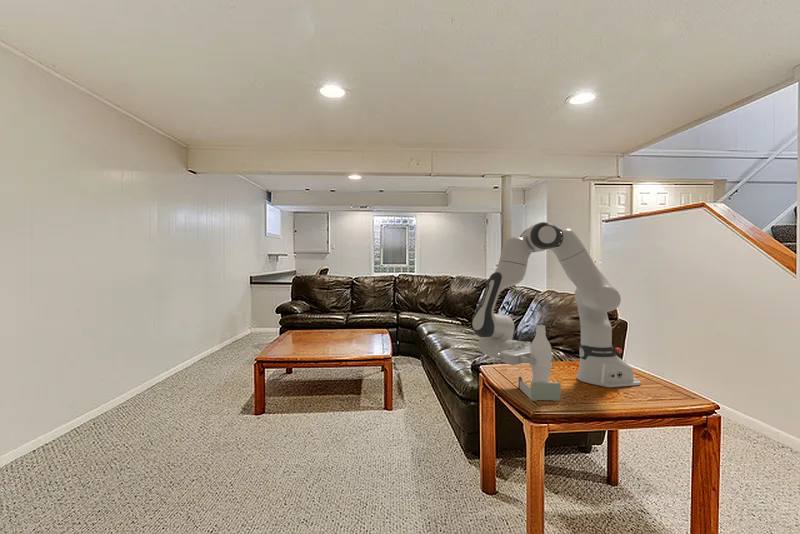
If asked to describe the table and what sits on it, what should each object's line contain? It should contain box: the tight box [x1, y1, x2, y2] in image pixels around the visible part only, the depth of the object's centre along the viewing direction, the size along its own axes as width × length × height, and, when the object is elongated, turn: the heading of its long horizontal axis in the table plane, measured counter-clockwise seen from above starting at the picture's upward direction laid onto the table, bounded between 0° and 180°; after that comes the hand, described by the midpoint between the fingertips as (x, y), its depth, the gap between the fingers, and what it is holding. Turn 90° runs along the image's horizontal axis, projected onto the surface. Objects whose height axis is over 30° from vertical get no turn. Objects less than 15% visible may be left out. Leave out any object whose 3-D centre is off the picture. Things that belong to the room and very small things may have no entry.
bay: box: [518, 376, 562, 402], centre depth 134 cm, size 10×14×6 cm
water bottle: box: [529, 324, 553, 389], centre depth 131 cm, size 7×7×25 cm
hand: (542, 359), depth 131 cm, fingers open, 8 cm apart
